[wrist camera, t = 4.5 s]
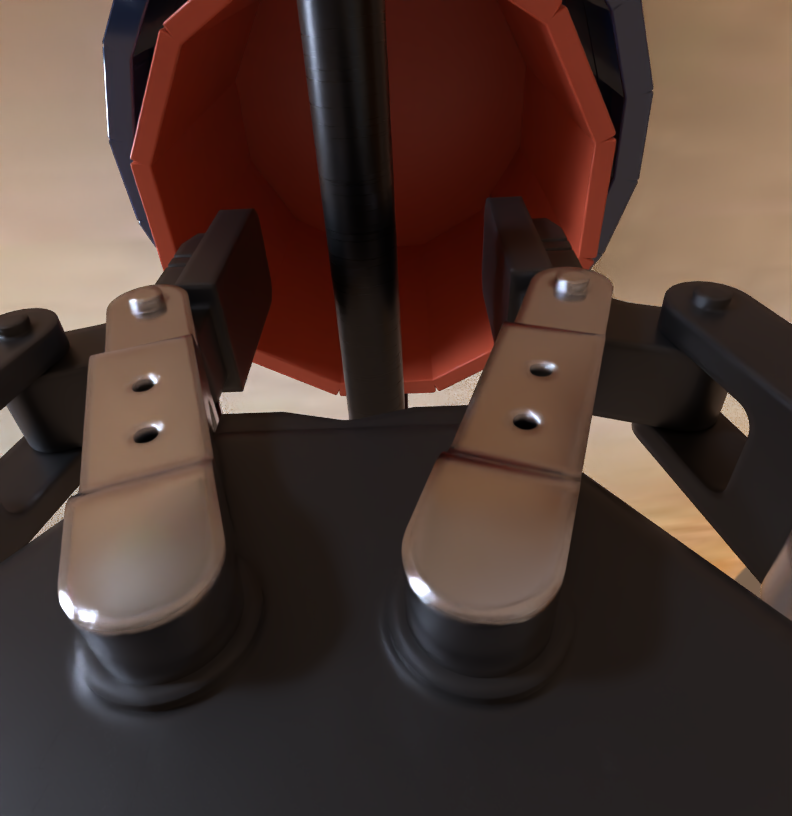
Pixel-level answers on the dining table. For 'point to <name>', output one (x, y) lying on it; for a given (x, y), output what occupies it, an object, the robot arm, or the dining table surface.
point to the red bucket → (372, 168)
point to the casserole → (587, 4)
